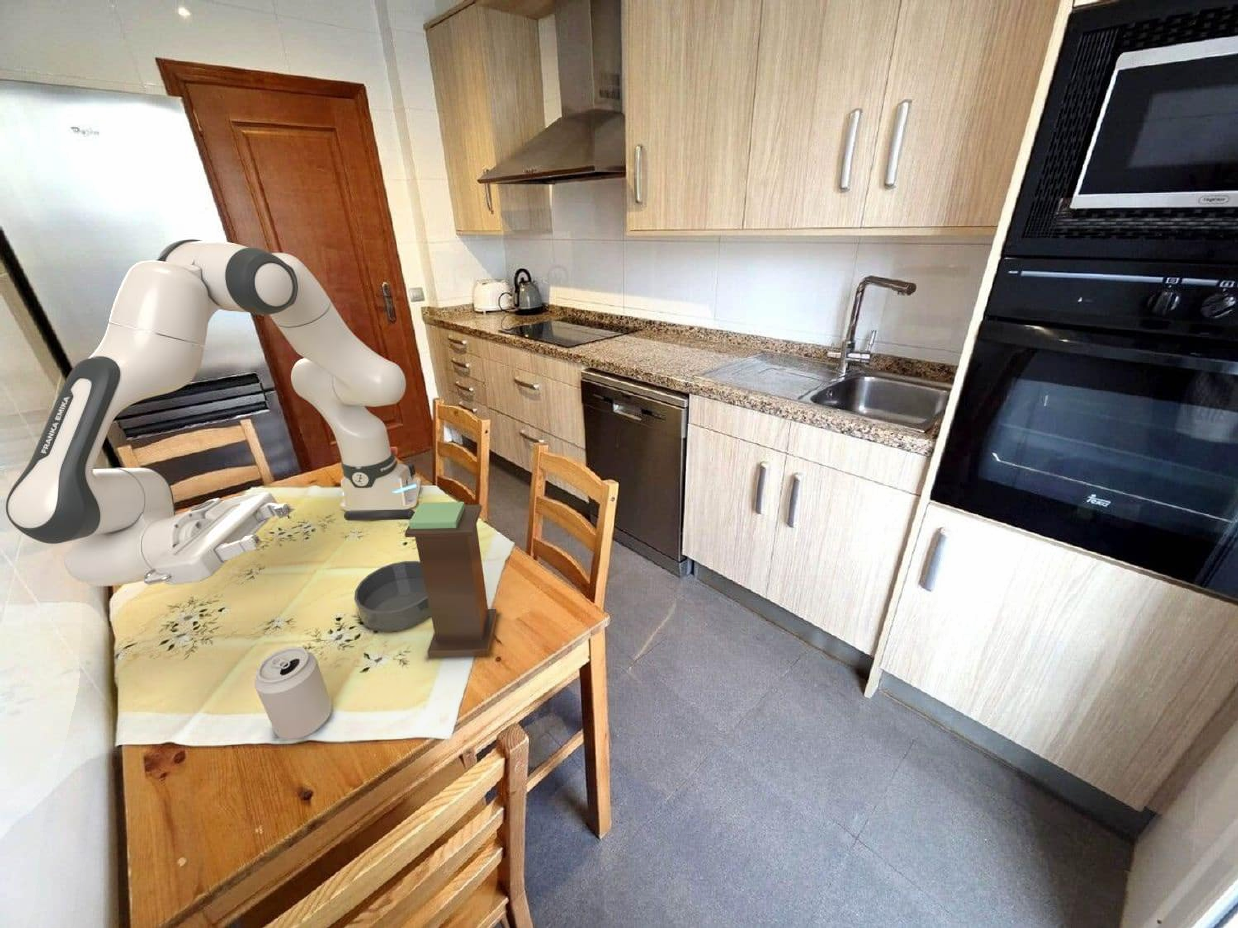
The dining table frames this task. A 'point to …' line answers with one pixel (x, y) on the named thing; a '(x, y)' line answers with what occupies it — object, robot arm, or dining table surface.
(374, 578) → the pan
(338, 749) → the dining table surface
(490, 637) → the stand
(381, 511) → the spatula
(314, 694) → the can
